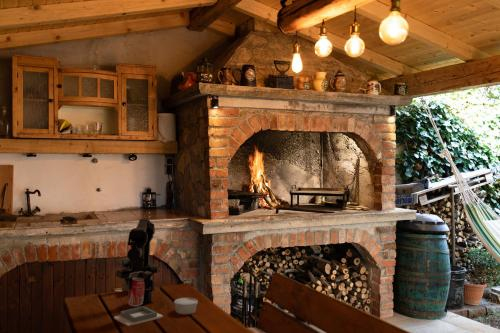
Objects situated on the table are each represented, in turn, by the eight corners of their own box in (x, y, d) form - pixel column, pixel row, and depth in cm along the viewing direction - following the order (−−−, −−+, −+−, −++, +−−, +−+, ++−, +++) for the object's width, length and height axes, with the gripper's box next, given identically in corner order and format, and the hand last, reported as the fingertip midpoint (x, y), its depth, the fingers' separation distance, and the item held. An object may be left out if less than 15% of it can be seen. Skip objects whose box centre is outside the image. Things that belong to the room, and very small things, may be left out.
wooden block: (138, 293, 250) (138, 260, 250) (121, 291, 254) (122, 258, 254) (141, 291, 254) (142, 259, 254) (125, 289, 258) (126, 257, 257)
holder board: (148, 310, 222) (148, 304, 222) (163, 317, 213) (163, 311, 213) (113, 318, 210) (114, 312, 210) (127, 326, 201) (128, 320, 201)
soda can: (128, 302, 214) (131, 276, 215) (144, 303, 215) (146, 277, 215) (125, 306, 207) (128, 279, 208) (141, 307, 208) (144, 280, 208)
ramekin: (201, 310, 225) (201, 299, 225) (189, 317, 215) (189, 305, 215) (182, 306, 229) (182, 296, 229) (169, 313, 219) (169, 302, 219)
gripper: (146, 251, 224) (146, 282, 224) (110, 256, 211) (110, 289, 211) (158, 254, 215) (158, 287, 216) (122, 260, 203) (121, 295, 203)
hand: (137, 289), depth 212 cm, fingers closed on soda can, 7 cm apart
